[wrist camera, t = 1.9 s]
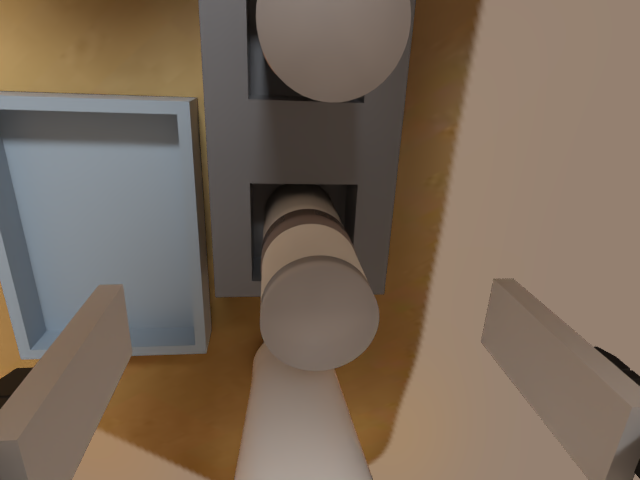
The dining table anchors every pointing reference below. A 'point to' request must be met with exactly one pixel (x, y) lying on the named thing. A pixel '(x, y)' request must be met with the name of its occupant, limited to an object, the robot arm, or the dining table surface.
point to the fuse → (333, 44)
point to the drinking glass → (297, 426)
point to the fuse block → (291, 149)
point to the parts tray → (103, 216)
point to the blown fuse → (312, 283)
